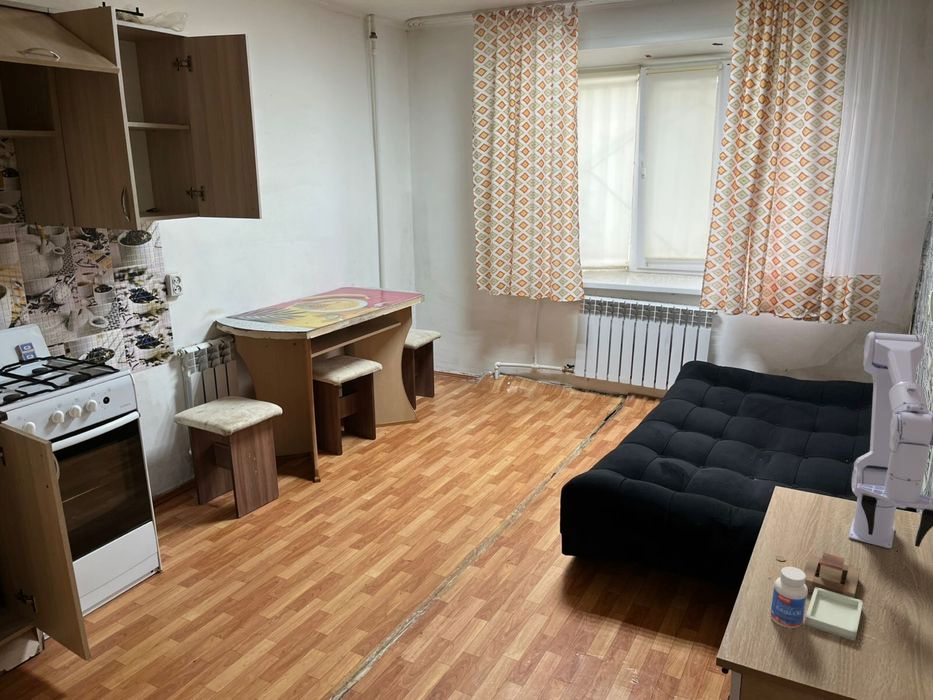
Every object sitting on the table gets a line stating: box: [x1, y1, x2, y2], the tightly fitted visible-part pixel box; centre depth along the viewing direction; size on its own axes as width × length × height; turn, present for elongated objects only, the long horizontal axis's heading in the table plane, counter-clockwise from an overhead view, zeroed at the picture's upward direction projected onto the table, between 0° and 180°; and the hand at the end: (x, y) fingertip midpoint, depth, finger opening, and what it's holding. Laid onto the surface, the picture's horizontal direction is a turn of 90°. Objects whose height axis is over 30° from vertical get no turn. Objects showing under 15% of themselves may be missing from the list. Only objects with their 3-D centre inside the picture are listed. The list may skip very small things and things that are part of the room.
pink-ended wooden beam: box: [818, 552, 846, 584], centre depth 136 cm, size 4×4×6 cm
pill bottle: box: [770, 566, 809, 629], centre depth 126 cm, size 6×5×10 cm
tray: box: [804, 587, 864, 642], centre depth 127 cm, size 10×8×2 cm
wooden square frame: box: [803, 554, 861, 599], centre depth 136 cm, size 9×9×2 cm
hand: (893, 538), depth 134 cm, fingers open, 7 cm apart
